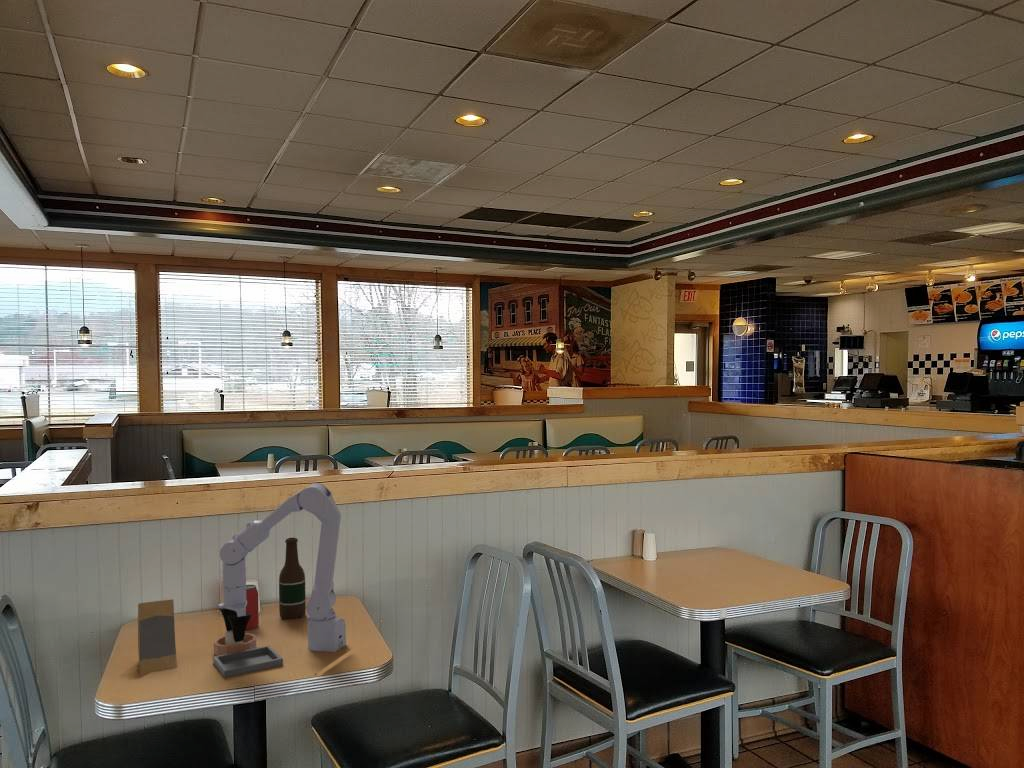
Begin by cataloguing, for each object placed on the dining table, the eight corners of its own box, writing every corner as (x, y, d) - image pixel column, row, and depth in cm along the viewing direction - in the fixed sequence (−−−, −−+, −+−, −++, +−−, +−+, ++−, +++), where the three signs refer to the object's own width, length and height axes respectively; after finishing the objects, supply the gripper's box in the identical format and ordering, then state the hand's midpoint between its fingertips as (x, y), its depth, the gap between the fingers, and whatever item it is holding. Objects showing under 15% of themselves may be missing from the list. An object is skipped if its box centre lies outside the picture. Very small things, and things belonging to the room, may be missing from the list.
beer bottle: (279, 614, 233) (278, 537, 233) (305, 611, 235) (304, 535, 235) (279, 621, 225) (278, 541, 225) (306, 618, 227) (305, 539, 228)
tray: (269, 655, 196) (269, 645, 196) (283, 669, 186) (282, 658, 186) (213, 667, 188) (213, 656, 188) (224, 682, 178) (224, 671, 178)
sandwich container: (139, 680, 180) (138, 618, 180) (138, 661, 194) (137, 603, 194) (178, 673, 184) (177, 613, 184) (174, 655, 198) (173, 598, 198)
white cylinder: (237, 654, 194) (237, 635, 195) (221, 653, 195) (221, 634, 195) (246, 648, 199) (246, 629, 199) (231, 647, 200) (231, 629, 200)
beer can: (251, 631, 216) (250, 590, 216) (230, 630, 217) (229, 589, 217) (263, 624, 222) (262, 584, 222) (243, 623, 223) (242, 583, 223)
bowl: (264, 648, 201) (264, 634, 201) (240, 662, 191) (239, 647, 191) (231, 645, 204) (231, 631, 204) (205, 659, 194) (205, 644, 194)
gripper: (212, 582, 201) (213, 633, 201) (225, 594, 189) (226, 647, 189) (239, 578, 205) (240, 628, 205) (253, 589, 193) (254, 642, 193)
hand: (235, 637), depth 197 cm, fingers open, 7 cm apart
